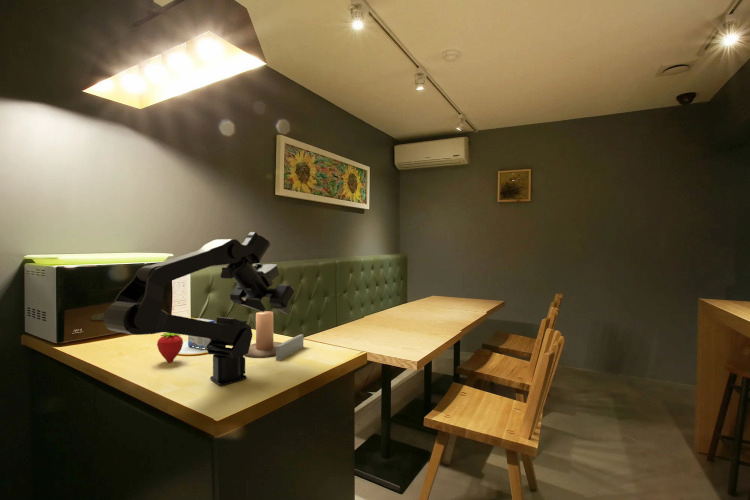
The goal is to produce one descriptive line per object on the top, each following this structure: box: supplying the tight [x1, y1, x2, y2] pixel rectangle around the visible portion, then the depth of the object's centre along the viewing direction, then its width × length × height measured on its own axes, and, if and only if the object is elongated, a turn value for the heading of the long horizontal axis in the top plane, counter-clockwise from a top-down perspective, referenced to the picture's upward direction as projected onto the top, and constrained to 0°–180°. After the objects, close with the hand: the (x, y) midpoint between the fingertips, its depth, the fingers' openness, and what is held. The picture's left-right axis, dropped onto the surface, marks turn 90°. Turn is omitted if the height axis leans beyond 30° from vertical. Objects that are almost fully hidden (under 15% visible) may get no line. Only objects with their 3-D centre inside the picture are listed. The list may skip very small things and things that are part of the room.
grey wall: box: [275, 334, 304, 361], centre depth 106 cm, size 14×1×4 cm, turn 163°
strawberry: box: [156, 332, 184, 364], centre depth 98 cm, size 6×8×10 cm
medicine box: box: [187, 317, 216, 348], centre depth 114 cm, size 8×4×9 cm, turn 62°
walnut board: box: [243, 341, 282, 359], centre depth 109 cm, size 14×14×1 cm
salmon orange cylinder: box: [255, 310, 274, 350], centre depth 109 cm, size 5×5×11 cm
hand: (276, 311), depth 101 cm, fingers open, 9 cm apart
